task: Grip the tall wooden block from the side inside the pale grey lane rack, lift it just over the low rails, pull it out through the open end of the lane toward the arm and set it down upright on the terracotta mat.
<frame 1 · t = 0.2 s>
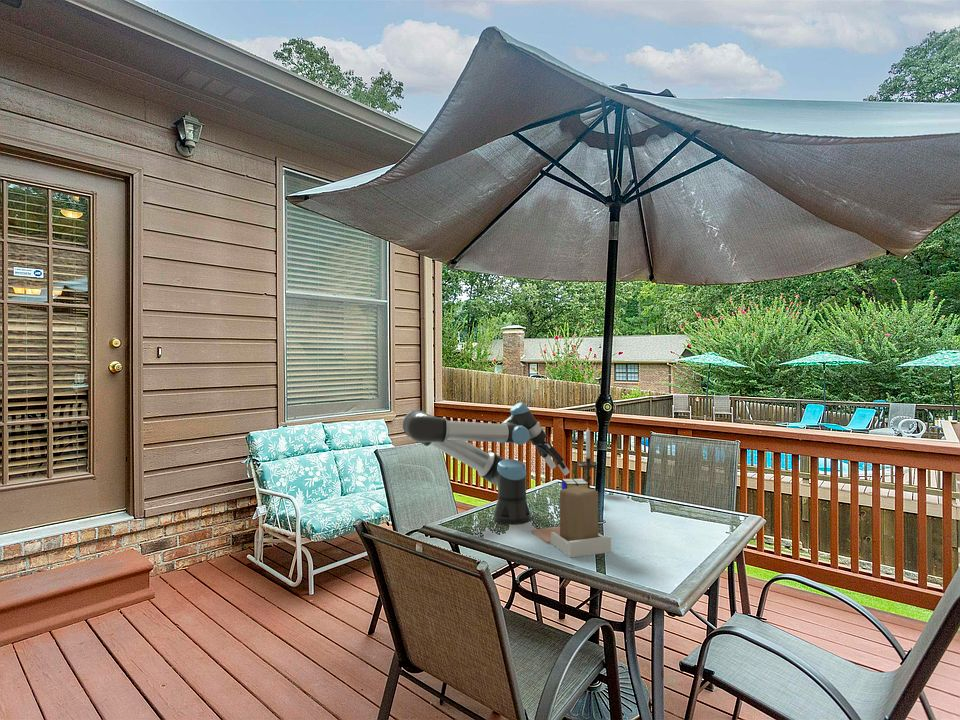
hand: (560, 470, 239), 15 cm above the table, tool tilted 35°, fingers open, 13 cm apart
lane rack: (579, 546, 185), on the table
terracotta mat: (560, 534, 198), on the table
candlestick: (588, 493, 260), on the table
wooden block: (579, 547, 185), on the table
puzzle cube: (574, 503, 242), on the table
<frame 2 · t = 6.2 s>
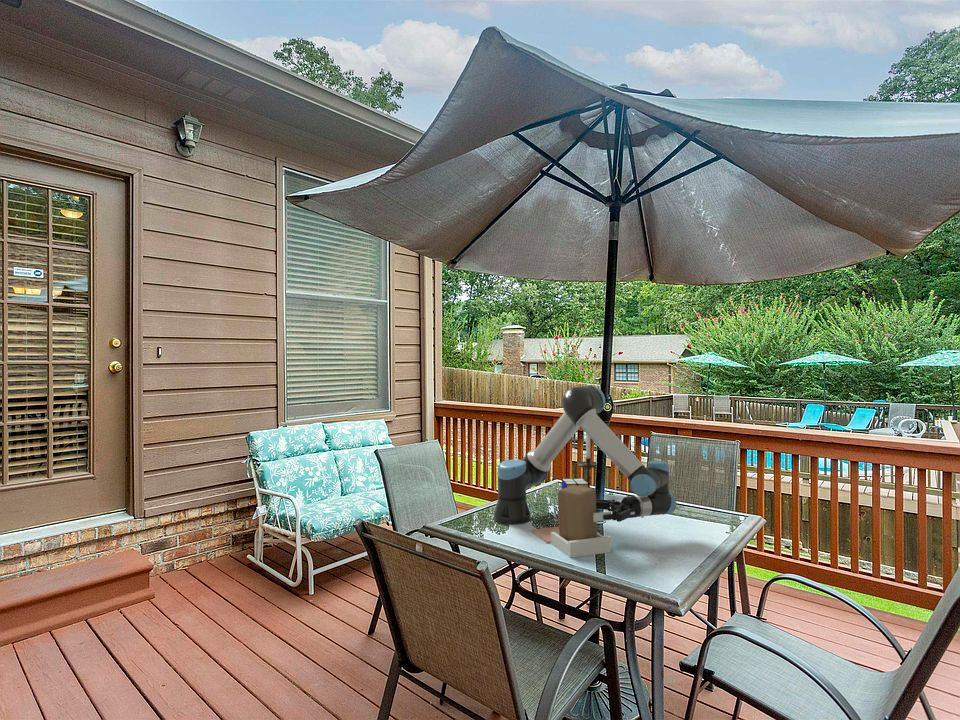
hand: (583, 511, 186), 12 cm above the table, tool horizontal, fingers open, 13 cm apart
wooden block: (578, 546, 186), on the table, touching gripper, lane rack
everything else where it was.
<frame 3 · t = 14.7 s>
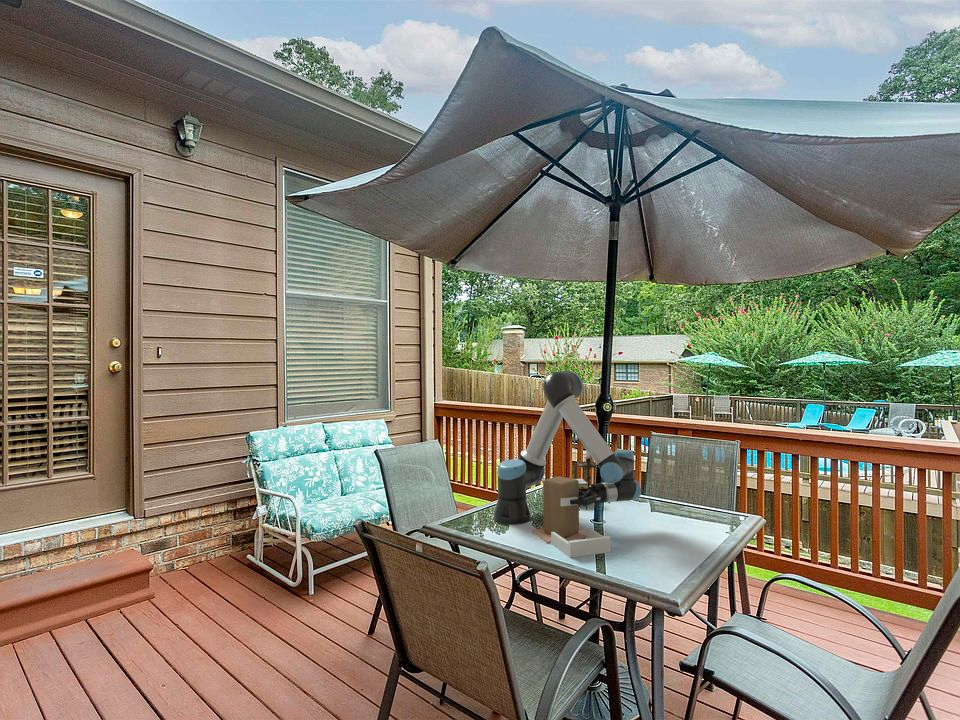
hand: (552, 497, 197), 14 cm above the table, tool horizontal, fingers open, 13 cm apart
wooden block: (561, 533, 198), resting on terracotta mat, touching gripper
everything else where it was.
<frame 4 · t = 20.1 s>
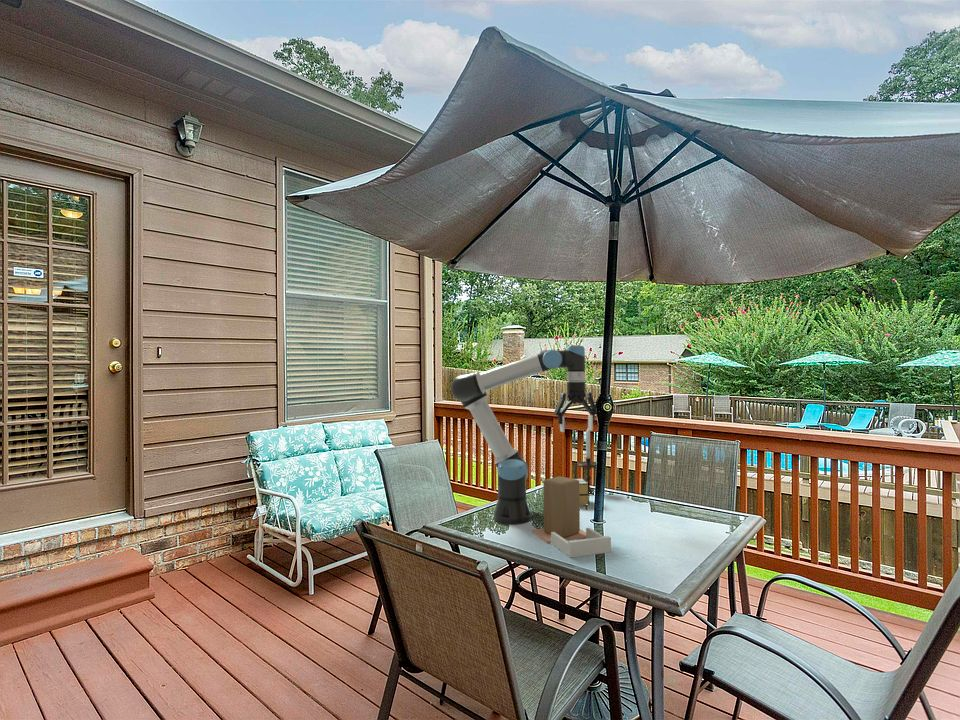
hand: (576, 431, 227), 35 cm above the table, tool pointing down, fingers open, 13 cm apart
wooden block: (561, 533, 198), resting on terracotta mat
everything else where it was.
at the end: wooden block inside the target area on the terracotta mat (0.4 cm from its centre), point 0.4 cm above the terracotta mat's base; wooden block tilted 0°; the gripper is holding nothing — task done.
